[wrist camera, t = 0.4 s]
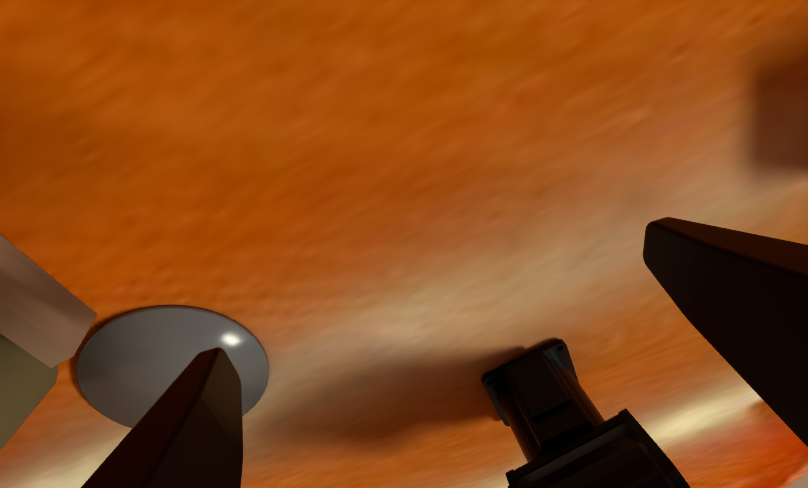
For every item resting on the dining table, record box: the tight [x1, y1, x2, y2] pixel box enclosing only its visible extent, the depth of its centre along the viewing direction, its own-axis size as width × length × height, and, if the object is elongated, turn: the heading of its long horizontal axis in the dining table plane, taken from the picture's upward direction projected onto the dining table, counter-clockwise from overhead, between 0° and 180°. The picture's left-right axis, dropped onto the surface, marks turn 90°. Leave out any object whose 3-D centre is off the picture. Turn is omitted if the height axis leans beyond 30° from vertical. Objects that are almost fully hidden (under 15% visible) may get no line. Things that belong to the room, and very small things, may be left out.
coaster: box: [76, 305, 269, 429], centre depth 26 cm, size 10×10×1 cm
